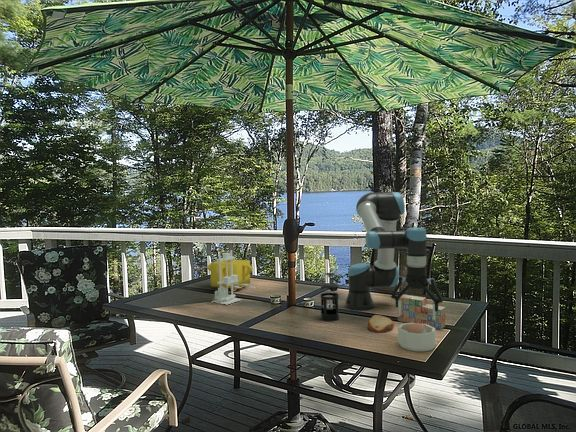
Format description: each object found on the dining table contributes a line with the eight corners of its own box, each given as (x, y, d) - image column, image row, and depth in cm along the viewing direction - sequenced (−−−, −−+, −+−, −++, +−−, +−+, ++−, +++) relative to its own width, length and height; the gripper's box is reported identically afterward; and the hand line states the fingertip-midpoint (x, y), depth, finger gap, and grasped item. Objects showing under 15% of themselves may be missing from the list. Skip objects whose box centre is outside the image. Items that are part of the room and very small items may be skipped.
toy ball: (424, 347, 168) (423, 328, 167) (405, 344, 172) (404, 326, 171) (430, 339, 174) (429, 321, 173) (411, 336, 179) (410, 318, 178)
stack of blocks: (445, 326, 196) (445, 300, 195) (440, 330, 191) (440, 303, 191) (403, 318, 210) (403, 293, 209) (397, 321, 206) (397, 296, 205)
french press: (332, 322, 204) (331, 276, 203) (316, 319, 210) (315, 274, 209) (344, 316, 214) (343, 272, 213) (328, 313, 220) (327, 270, 218)
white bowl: (396, 348, 170) (396, 331, 169) (402, 337, 183) (402, 321, 182) (432, 353, 164) (432, 336, 164) (436, 341, 177) (436, 325, 176)
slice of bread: (379, 318, 212) (379, 310, 212) (406, 327, 196) (406, 319, 196) (352, 324, 203) (351, 317, 202) (378, 335, 187) (378, 326, 187)
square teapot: (263, 285, 289) (263, 254, 288) (241, 295, 262) (240, 261, 260) (220, 281, 303) (219, 252, 302) (195, 291, 276) (194, 259, 275)
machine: (211, 302, 246) (210, 251, 244) (226, 298, 256) (224, 249, 254) (249, 309, 230) (247, 255, 228) (263, 304, 240) (262, 252, 238)
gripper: (383, 265, 173) (384, 316, 174) (448, 269, 163) (448, 323, 164) (387, 262, 180) (387, 311, 181) (449, 265, 169) (449, 317, 171)
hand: (416, 317), depth 173 cm, fingers open, 13 cm apart
